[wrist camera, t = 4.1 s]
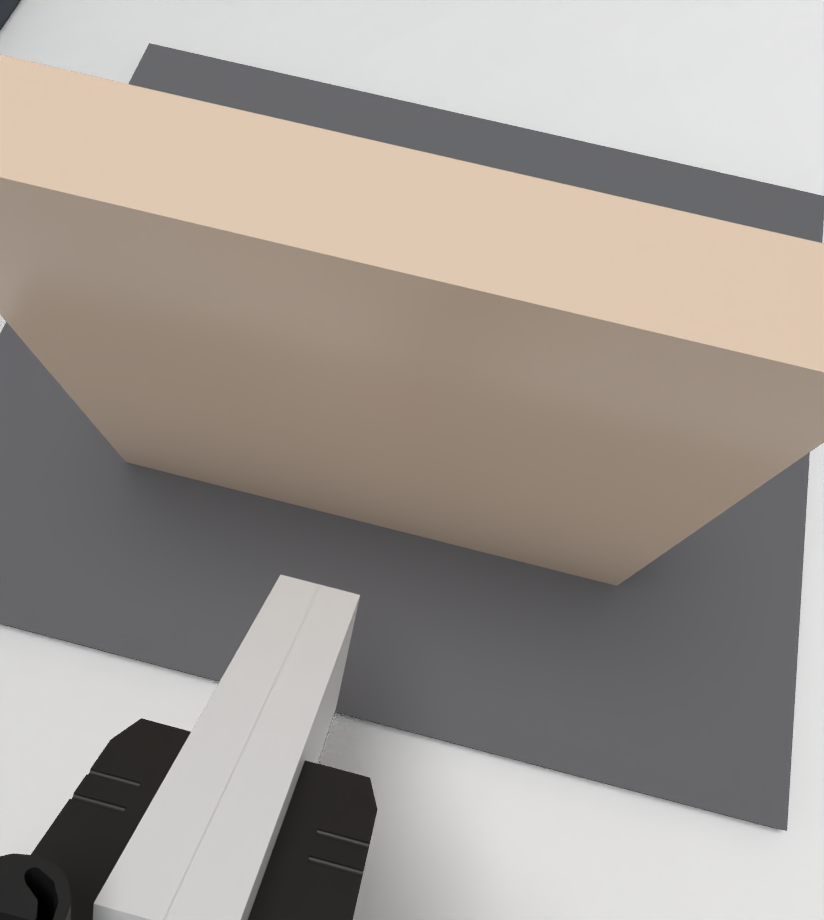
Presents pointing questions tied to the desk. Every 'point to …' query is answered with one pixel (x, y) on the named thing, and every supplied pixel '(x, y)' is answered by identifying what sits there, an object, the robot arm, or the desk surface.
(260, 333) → the tile
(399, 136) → the mat
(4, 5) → the smartphone
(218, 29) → the desk surface
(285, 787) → the robot arm
